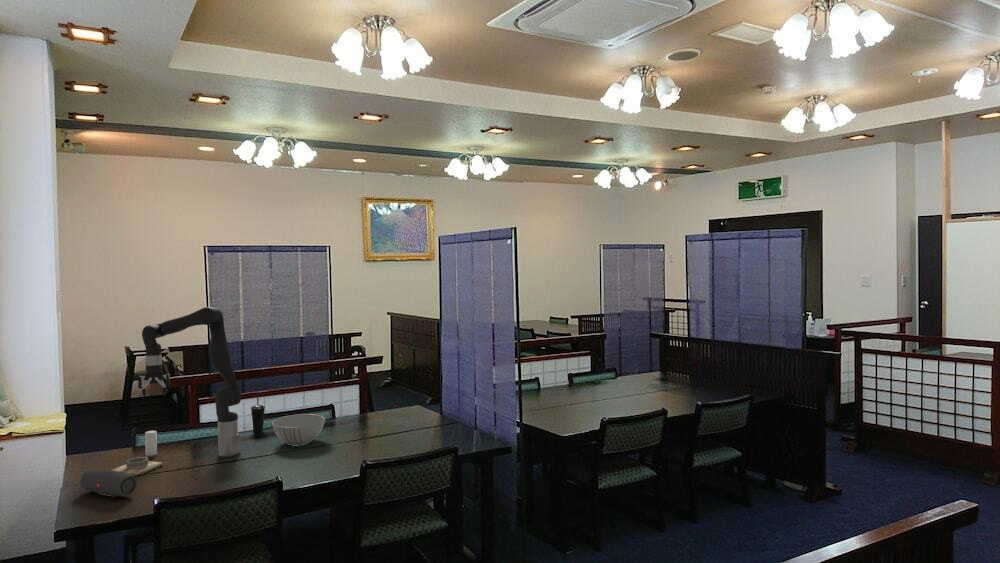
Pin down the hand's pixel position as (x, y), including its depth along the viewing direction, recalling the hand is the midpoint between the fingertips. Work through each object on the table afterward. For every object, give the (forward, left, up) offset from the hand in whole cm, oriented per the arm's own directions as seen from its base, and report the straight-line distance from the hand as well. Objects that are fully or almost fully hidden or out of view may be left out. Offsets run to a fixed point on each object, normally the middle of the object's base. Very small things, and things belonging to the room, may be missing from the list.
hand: (154, 395), depth 318 cm
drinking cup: (-29, -42, -28) cm, 58 cm away
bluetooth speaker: (-31, +54, -28) cm, 68 cm away
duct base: (-17, +27, -28) cm, 42 cm away
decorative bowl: (-64, -30, -28) cm, 76 cm away
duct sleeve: (-7, +10, -28) cm, 30 cm away
